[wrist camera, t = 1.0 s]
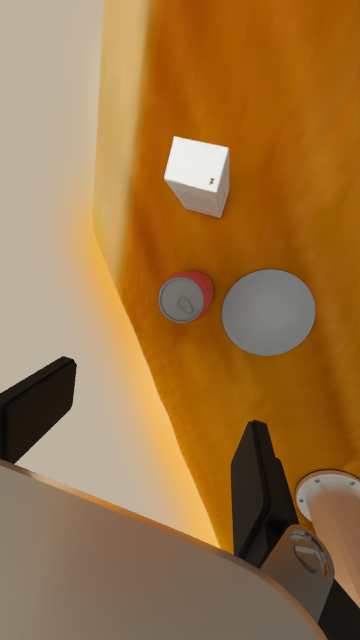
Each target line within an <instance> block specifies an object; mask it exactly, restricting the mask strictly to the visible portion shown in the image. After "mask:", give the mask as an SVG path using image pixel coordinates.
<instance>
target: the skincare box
mask: <svg viewBox="0 0 360 640" xmlns="http://www.w3.org/2000/svg"><path fill="white" fill-rule="evenodd" d="M164 179H165V181H166V182H167V183H168V185H169V186H170V188H171V189H172V190H173V192H174V193H175V195H176V196H177V197H178V199H179V200H180V202H181V203H182V205H183V206H184V207H185V209H188V210H192V211H195V212H199V213H203V214H206V215H210V216H214V217H218V218H221V215H222V212H223V209H224V206H225V203H226V199H227V196H228V193H229V148H228V147H223V146H218V145H214V144H209V143H204V142H199V141H194V140H189V139H185V138H180V137H176V136H174V139H173V143H172V147H171V151H170V155H169V159H168V163H167V167H166V172H165V176H164Z"/></svg>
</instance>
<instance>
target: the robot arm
mask: <svg viewBox="0 0 360 640" xmlns="http://www.w3.org/2000/svg"><path fill="white" fill-rule="evenodd" d="M76 367H77V364H76V363H75V361H74V360H73V359H71V358H68V357H65V356H63V357H61V358H59V359H57V360H56V361H54V362H52V363H51V364H49V365H47V366H46V367H44V368H42V369H40V370H39V371H37V372H36V373H34V374H32V375H31V376H29V377H27V378H25V379H24V380H22V381H20V382H19V383H17V384H15V385H14V386H12V387H10V388H9V389H7V390H5V391H4V392H2V393H0V640H360V480H359V479H358V478H356V477H354V476H352V475H350V474H348V473H344V472H341V471H334V470H324V471H317V472H314V473H311V474H309V475H308V476H306V477H305V478H303V479H302V480H301V481H300V482H299V484H298V485H297V488H296V492H295V497H296V502H297V505H298V507H299V509H300V511H301V513H302V514H303V515H304V516H305V517H306V518H307V519H308V520H310V521H311V522H312V523H313V526H314V529H315V532H316V535H317V536H316V535H315V534H314V533H313V532H311V531H310V530H309V529H307V528H305V527H304V526H301V525H299V521H298V518H297V515H296V511H295V508H294V504H293V501H292V497H291V494H290V491H289V487H288V484H287V480H286V477H285V473H284V470H283V466H282V463H281V461H280V460H279V459H278V458H276V457H275V454H274V450H273V446H272V442H271V439H270V435H269V431H268V428H267V424H266V423H263V422H260V421H257V420H253V421H252V422H250V421H249V422H248V424H247V426H246V429H245V431H244V434H243V436H242V438H241V441H240V443H239V445H238V448H237V450H236V453H235V455H234V457H233V460H232V463H231V492H232V518H233V544H234V555H232V554H230V553H228V552H226V551H224V550H222V549H220V548H217V547H215V546H213V545H210V544H208V543H206V542H203V541H201V540H199V539H197V538H194V537H192V536H190V535H187V534H185V533H183V532H180V531H178V530H175V529H173V528H170V527H168V526H166V525H163V524H161V523H158V522H156V521H153V520H151V519H149V518H146V517H144V516H141V515H139V514H136V513H134V512H132V511H129V510H127V509H124V508H122V507H119V506H117V505H114V504H112V503H109V502H107V501H105V500H102V499H100V498H97V497H95V496H92V495H90V494H87V493H85V492H82V491H80V490H77V489H75V488H72V487H70V486H67V485H65V484H62V483H60V482H57V481H55V480H52V479H50V478H47V477H44V476H42V475H40V474H37V473H35V472H32V471H30V470H27V469H25V468H22V467H20V466H17V465H15V463H16V462H17V461H18V460H19V459H20V458H21V457H22V456H23V455H24V454H25V453H26V452H27V451H28V450H29V449H30V448H31V447H32V446H33V445H34V444H35V443H36V442H37V441H38V440H39V439H40V438H41V437H42V436H44V435H45V434H46V433H47V432H48V430H50V429H51V427H53V426H54V425H55V424H56V423H57V422H58V421H59V420H60V419H61V418H62V417H63V416H64V415H65V414H66V413H67V412H68V411H69V410H70V408H71V407H72V403H73V394H74V385H75V375H76Z"/></svg>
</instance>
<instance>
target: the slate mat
mask: <svg viewBox="0 0 360 640" xmlns="http://www.w3.org/2000/svg"><path fill="white" fill-rule="evenodd" d="M314 319H315V302H314V299H313V296H312V294H311V292H310V290H309V288H308V287H307V286H306V285H305V283H304V282H302V281H301V280H300V279H299V278H297V277H296V276H294V275H292V274H290V273H288V272H285V271H280V270H271V269H267V270H260V271H255V272H252V273H250V274H248V275H246V276H244V277H242V278H241V279H239V280H238V281H237V282H236V283H235V284H234V285H233V286H232V287H231V289H230V290H229V291H228V293H227V295H226V297H225V299H224V302H223V307H222V322H223V326H224V329H225V331H226V333H227V335H228V336H229V338H230V339H231V340H232V342H233V343H234V344H236V345H237V346H238V347H239V348H241V349H242V350H244V351H246V352H249V353H252V354H255V355H261V356H271V355H278V354H282V353H284V352H287V351H289V350H291V349H293V348H294V347H296V346H297V345H299V344H300V343H301V342H302V341H303V340H304V339H305V338H306V336H307V335H308V333H309V332H310V330H311V328H312V326H313V323H314Z"/></svg>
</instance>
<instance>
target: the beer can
mask: <svg viewBox="0 0 360 640" xmlns="http://www.w3.org/2000/svg"><path fill="white" fill-rule="evenodd" d="M213 295H214V287H213V283H212V281H211V280H210V278H209V277H208V276H207V275H205V274H204V273H201V272H199V271H188V272H180V273H176V274H173V275H172V276H170V277H169V278H168V279H166V281H165V282H164V284H163V285H162V287H161V289H160V292H159V296H158V303H159V306H160V310H161V311H162V313H163V314H164V316H166V317H167V318H168V319H169V320H171V321H173V322H176V323H190V322H194V321H196V320H198V319H199V318H201V317H202V316H203V315H204V313H205V312H206V311H207V309H208V307H209V305H210V303H211V300H212V298H213Z"/></svg>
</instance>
